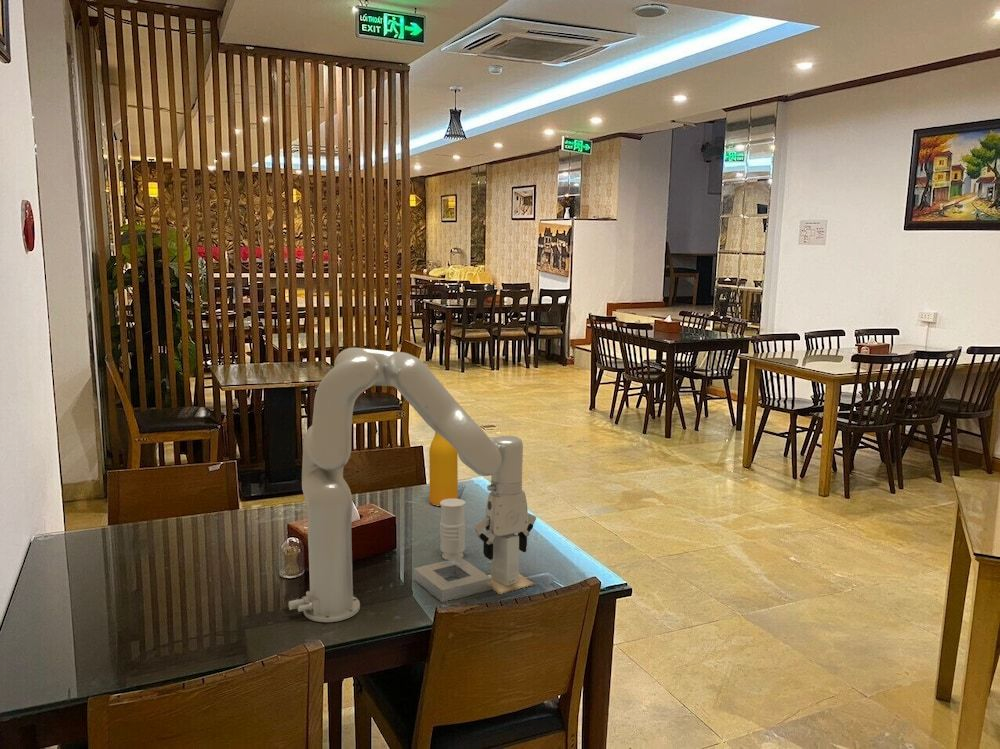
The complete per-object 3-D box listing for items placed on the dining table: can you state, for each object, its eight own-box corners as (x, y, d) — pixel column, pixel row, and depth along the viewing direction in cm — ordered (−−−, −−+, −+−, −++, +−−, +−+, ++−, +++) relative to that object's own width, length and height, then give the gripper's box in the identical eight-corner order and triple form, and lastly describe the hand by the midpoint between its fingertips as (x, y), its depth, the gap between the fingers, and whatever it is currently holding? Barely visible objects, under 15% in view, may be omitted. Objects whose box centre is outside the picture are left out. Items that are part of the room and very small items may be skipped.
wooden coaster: (499, 594, 182) (499, 592, 182) (478, 579, 191) (478, 577, 191) (534, 585, 188) (534, 583, 188) (511, 571, 196) (511, 569, 196)
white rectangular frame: (441, 602, 178) (441, 590, 178) (413, 579, 191) (413, 568, 190) (491, 589, 185) (491, 577, 185) (460, 568, 198) (460, 557, 197)
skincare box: (519, 582, 188) (520, 535, 186) (506, 586, 185) (507, 539, 184) (502, 574, 193) (503, 529, 191) (490, 579, 190) (490, 533, 188)
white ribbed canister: (450, 562, 201) (450, 508, 199) (434, 555, 206) (434, 501, 204) (470, 556, 206) (470, 502, 203) (455, 549, 211) (454, 496, 209)
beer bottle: (426, 506, 246) (425, 418, 242) (433, 497, 256) (433, 413, 251) (454, 508, 245) (454, 420, 241) (460, 499, 254) (460, 414, 250)
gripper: (484, 496, 178) (483, 566, 180) (544, 485, 187) (542, 552, 189) (468, 488, 184) (467, 555, 186) (527, 478, 193) (525, 542, 196)
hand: (505, 554), depth 188 cm, fingers open, 9 cm apart
